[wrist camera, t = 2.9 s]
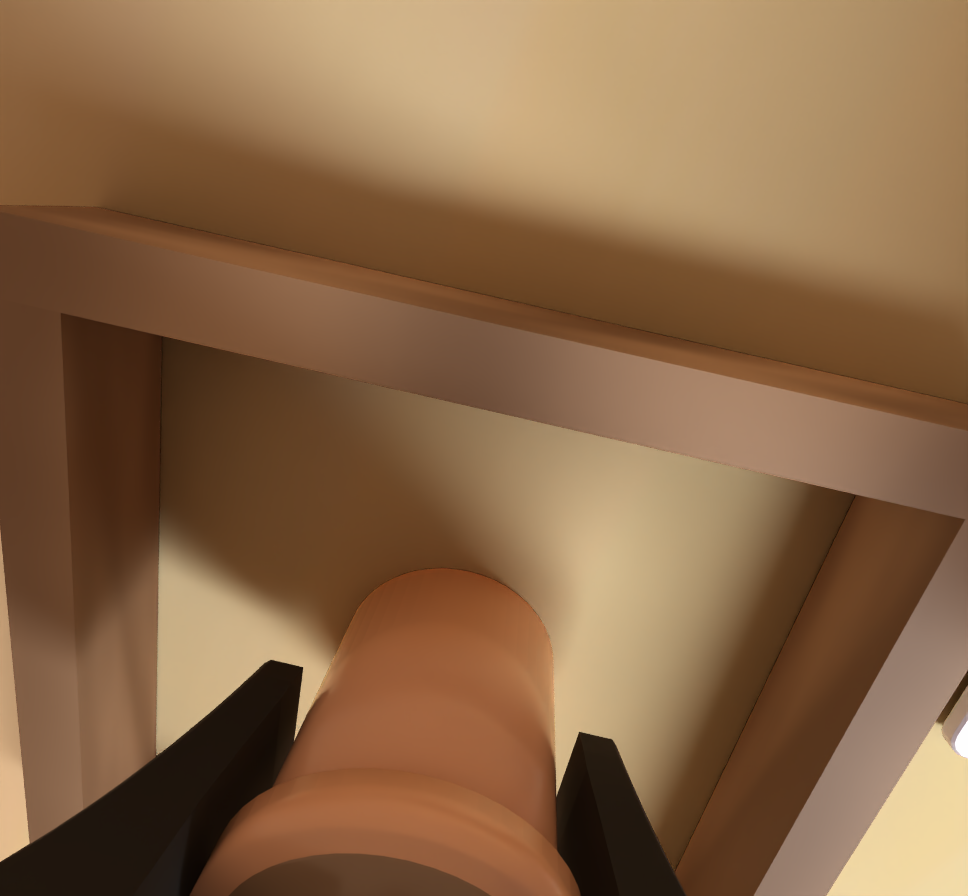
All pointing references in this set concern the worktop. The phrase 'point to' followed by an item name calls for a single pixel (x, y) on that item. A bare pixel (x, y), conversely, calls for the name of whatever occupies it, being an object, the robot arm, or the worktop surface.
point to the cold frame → (490, 386)
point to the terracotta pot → (414, 759)
